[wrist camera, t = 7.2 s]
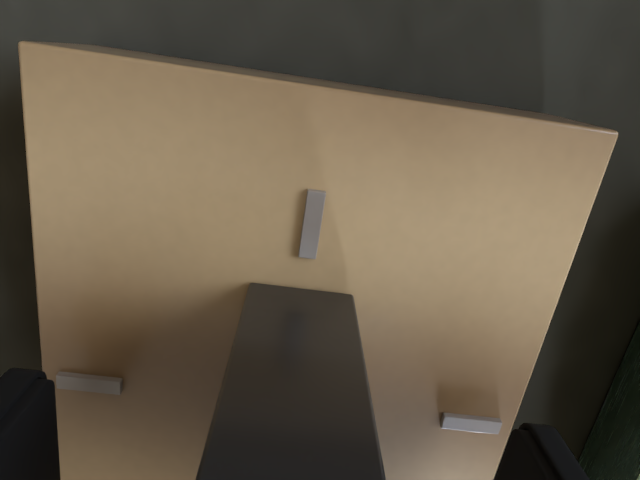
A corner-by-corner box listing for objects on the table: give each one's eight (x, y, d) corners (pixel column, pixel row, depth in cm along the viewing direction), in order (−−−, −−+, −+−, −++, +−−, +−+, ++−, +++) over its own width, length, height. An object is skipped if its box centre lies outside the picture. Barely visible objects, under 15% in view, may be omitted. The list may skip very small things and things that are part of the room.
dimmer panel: (422, 521, 17) (446, 621, 14) (101, 492, 16) (54, 590, 13) (547, 113, 12) (626, 132, 9) (91, 44, 11) (10, 39, 8)
